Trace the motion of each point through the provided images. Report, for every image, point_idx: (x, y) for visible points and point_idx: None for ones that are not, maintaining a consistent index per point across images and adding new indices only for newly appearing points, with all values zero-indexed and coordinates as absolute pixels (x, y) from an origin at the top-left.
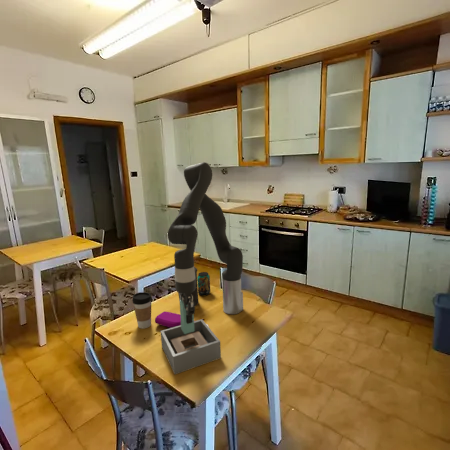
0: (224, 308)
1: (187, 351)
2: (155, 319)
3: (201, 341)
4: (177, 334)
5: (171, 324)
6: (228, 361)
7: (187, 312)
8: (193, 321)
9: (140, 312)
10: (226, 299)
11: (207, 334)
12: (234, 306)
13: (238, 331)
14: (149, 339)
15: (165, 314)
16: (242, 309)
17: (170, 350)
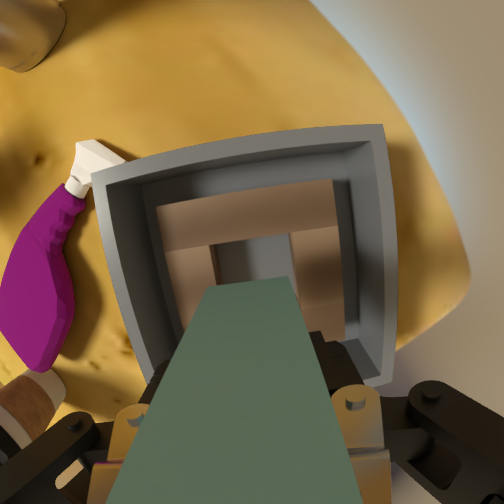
0: (23, 62)
1: (393, 323)
2: (42, 372)
3: (267, 212)
4: (157, 322)
5: (67, 322)
6: (377, 120)
7: (414, 467)
8: (299, 313)
9: (39, 434)
10: (3, 36)
11: (220, 163)
12: (44, 14)
13: (182, 19)
14: (126, 391)
15: (11, 328)
16: (57, 2)
17: None
